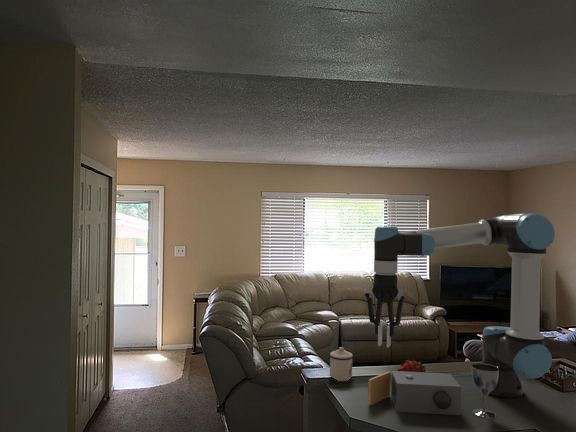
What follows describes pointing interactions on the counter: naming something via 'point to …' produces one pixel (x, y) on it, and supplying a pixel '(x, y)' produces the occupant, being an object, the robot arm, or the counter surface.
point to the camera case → (425, 393)
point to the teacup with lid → (341, 364)
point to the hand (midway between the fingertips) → (384, 345)
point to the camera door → (378, 388)
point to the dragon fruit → (412, 366)
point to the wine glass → (485, 385)
